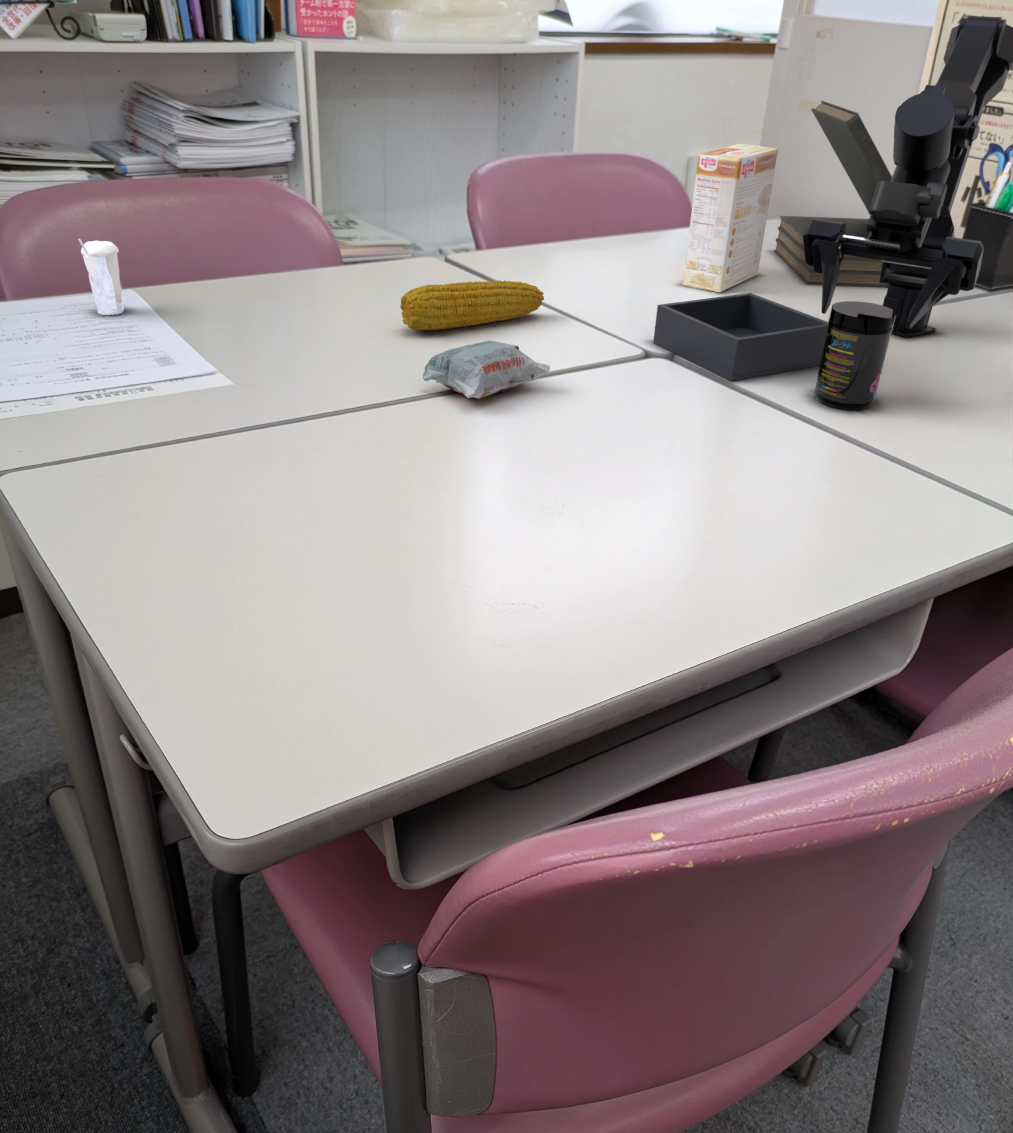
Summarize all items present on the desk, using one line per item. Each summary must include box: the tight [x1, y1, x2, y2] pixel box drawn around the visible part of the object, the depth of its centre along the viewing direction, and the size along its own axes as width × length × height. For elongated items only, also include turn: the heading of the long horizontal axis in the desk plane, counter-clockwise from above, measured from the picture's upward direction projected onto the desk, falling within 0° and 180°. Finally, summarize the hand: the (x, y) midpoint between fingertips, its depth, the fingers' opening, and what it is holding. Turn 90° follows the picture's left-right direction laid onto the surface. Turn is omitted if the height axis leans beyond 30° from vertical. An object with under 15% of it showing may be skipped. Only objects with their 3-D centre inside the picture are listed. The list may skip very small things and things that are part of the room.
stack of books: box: [773, 100, 893, 288], centre depth 156 cm, size 23×20×25 cm
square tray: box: [652, 292, 829, 382], centre depth 120 cm, size 16×16×5 cm
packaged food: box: [422, 340, 551, 400], centre depth 105 cm, size 9×12×5 cm
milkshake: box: [77, 238, 125, 316], centre depth 124 cm, size 4×5×10 cm
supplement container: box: [813, 300, 896, 411], centre depth 105 cm, size 7×7×10 cm
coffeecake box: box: [681, 143, 779, 293], centre depth 147 cm, size 15×7×20 cm, turn 144°
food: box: [400, 280, 545, 331], centre depth 126 cm, size 21×6×6 cm, turn 123°
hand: (864, 318), depth 104 cm, fingers open, 9 cm apart
